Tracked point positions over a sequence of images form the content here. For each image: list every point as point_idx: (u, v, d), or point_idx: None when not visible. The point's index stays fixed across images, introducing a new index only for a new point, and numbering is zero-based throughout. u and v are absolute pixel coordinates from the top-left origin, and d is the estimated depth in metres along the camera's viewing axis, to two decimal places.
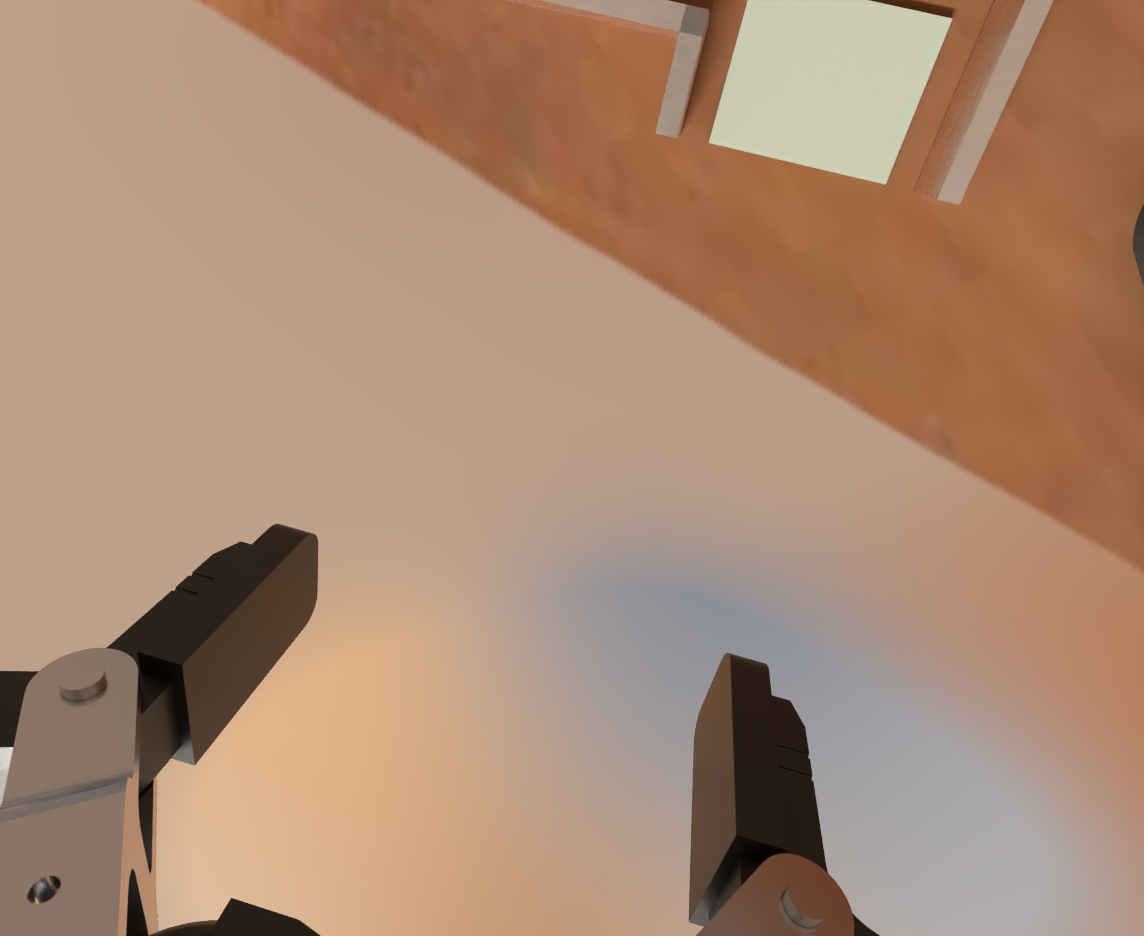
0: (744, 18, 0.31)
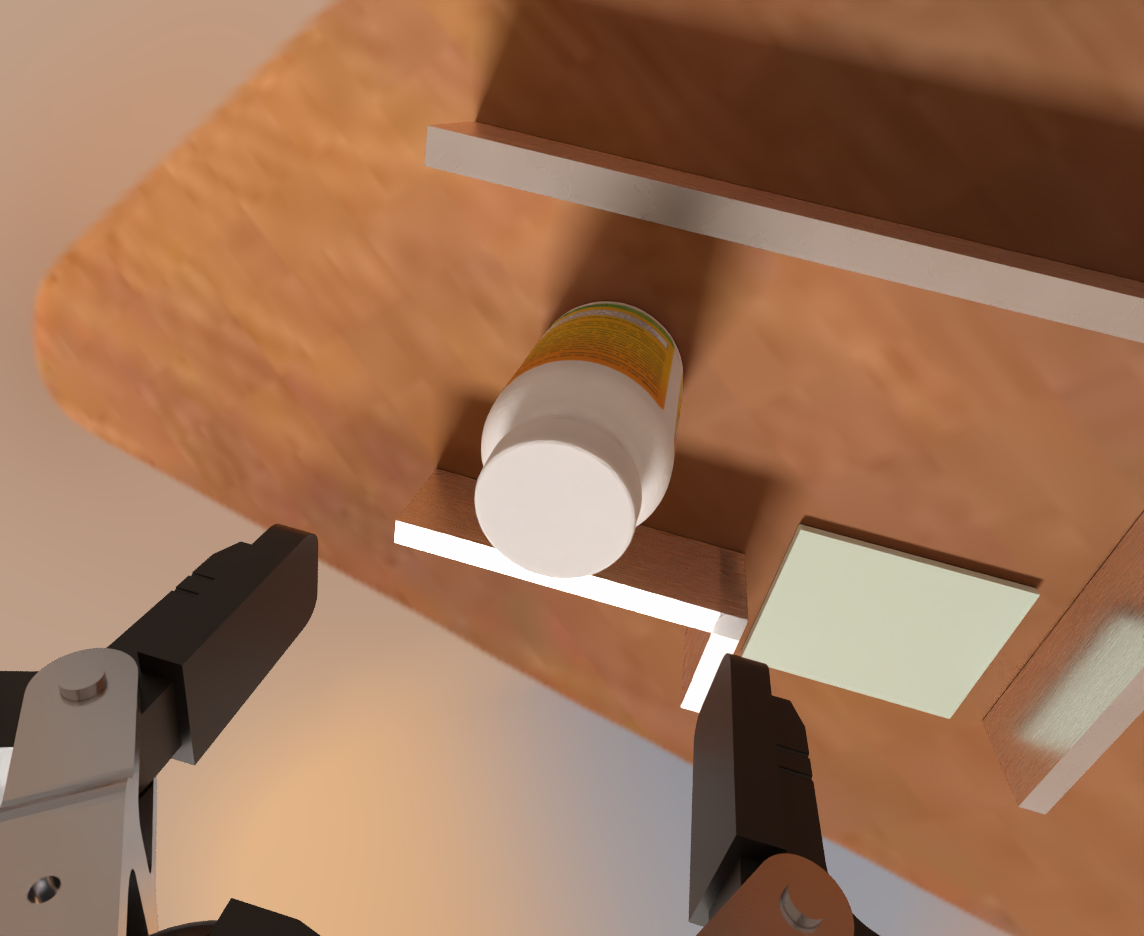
0: (787, 563, 0.26)
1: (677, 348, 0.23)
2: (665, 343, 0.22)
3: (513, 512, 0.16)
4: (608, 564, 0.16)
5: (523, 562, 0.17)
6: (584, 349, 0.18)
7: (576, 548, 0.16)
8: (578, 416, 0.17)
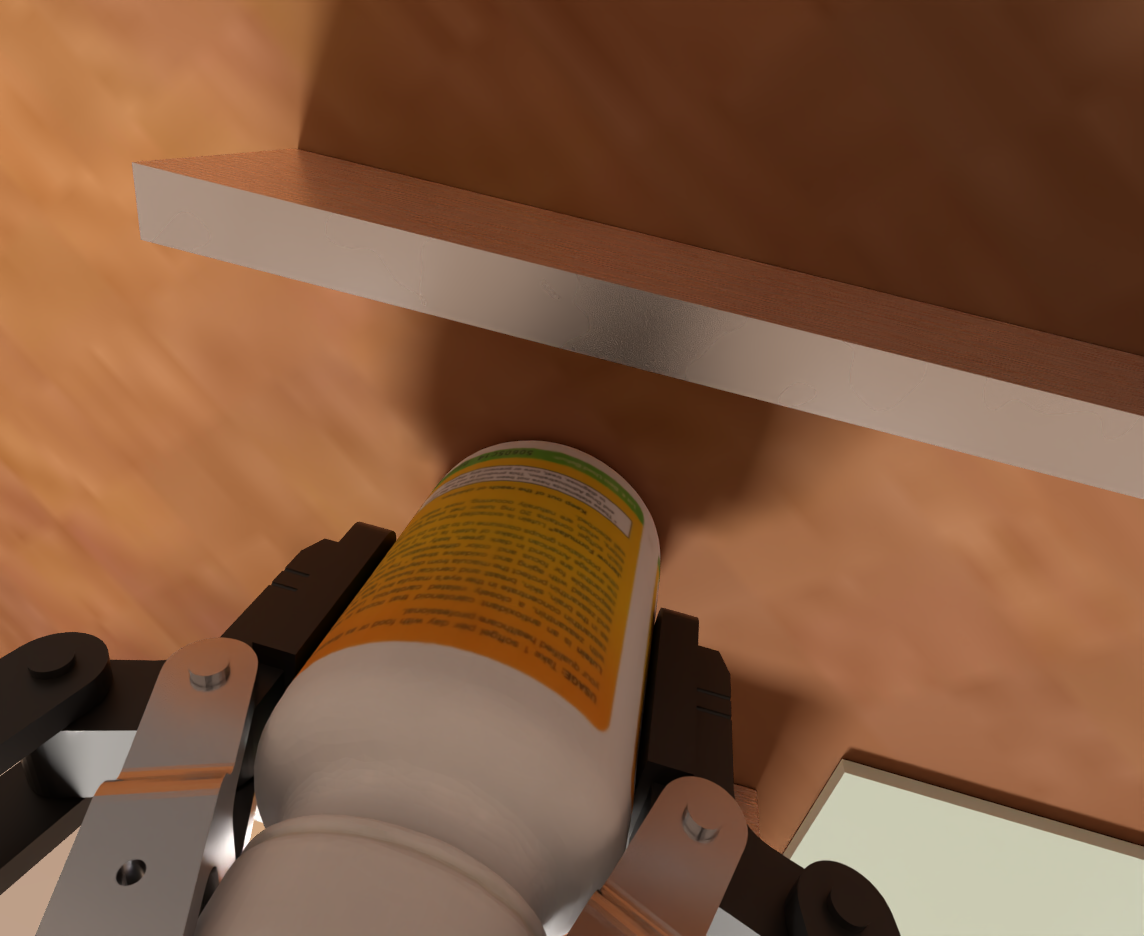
0: (822, 812, 0.17)
1: (650, 516, 0.14)
2: (627, 524, 0.13)
3: None
4: None
5: None
6: (455, 597, 0.09)
7: None
8: (414, 796, 0.08)
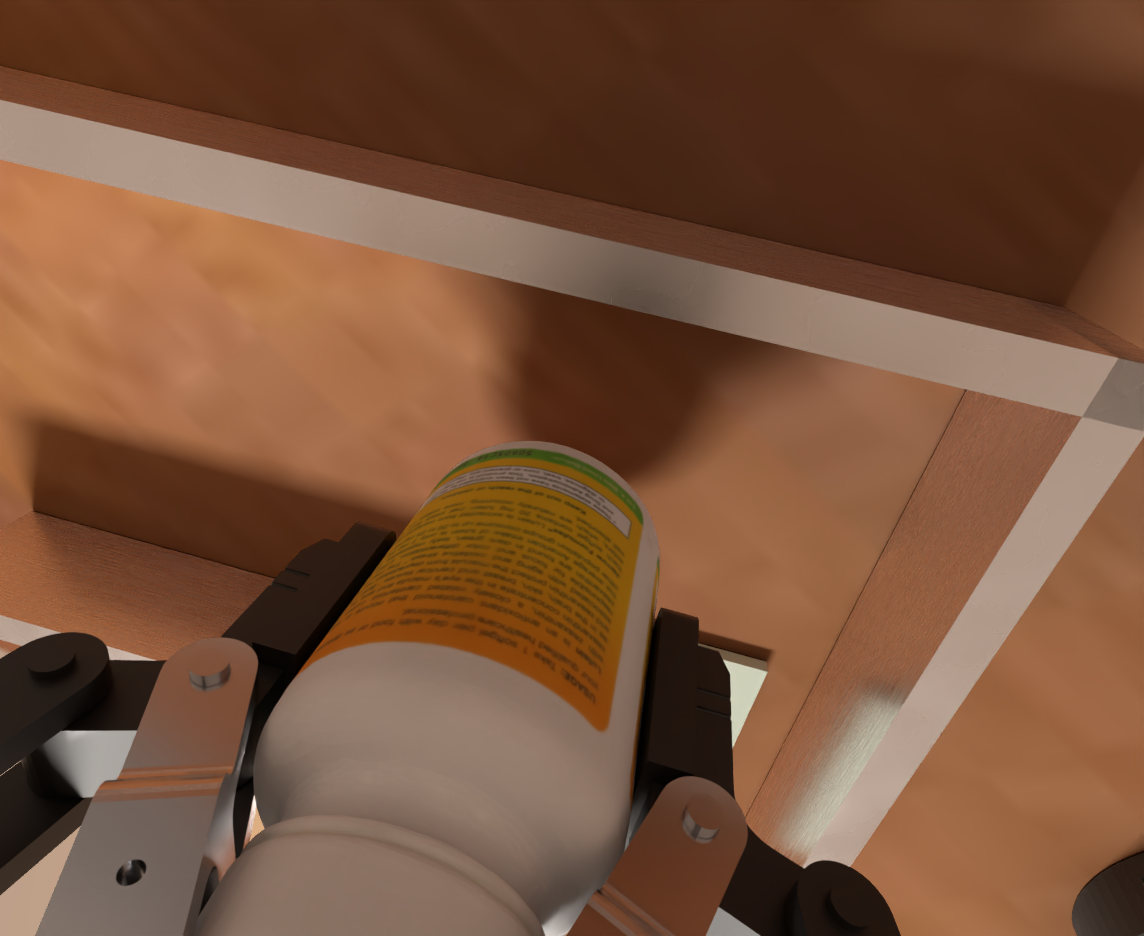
0: None
1: (649, 516, 0.14)
2: (626, 524, 0.13)
3: None
4: None
5: None
6: (454, 598, 0.09)
7: None
8: (413, 797, 0.08)
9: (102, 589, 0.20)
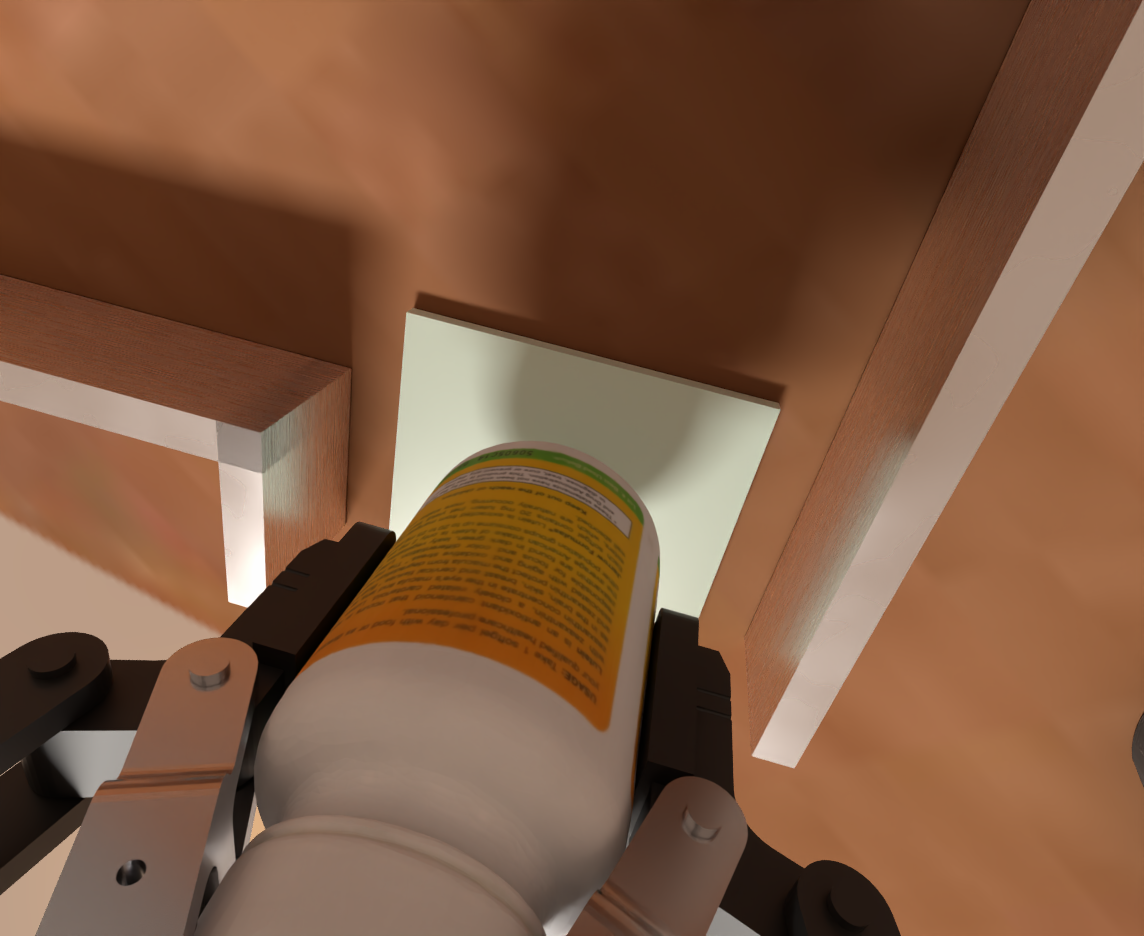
0: (404, 376, 0.17)
1: (650, 516, 0.14)
2: (627, 524, 0.13)
3: None
4: None
5: None
6: (455, 599, 0.09)
7: None
8: (414, 797, 0.08)
9: None
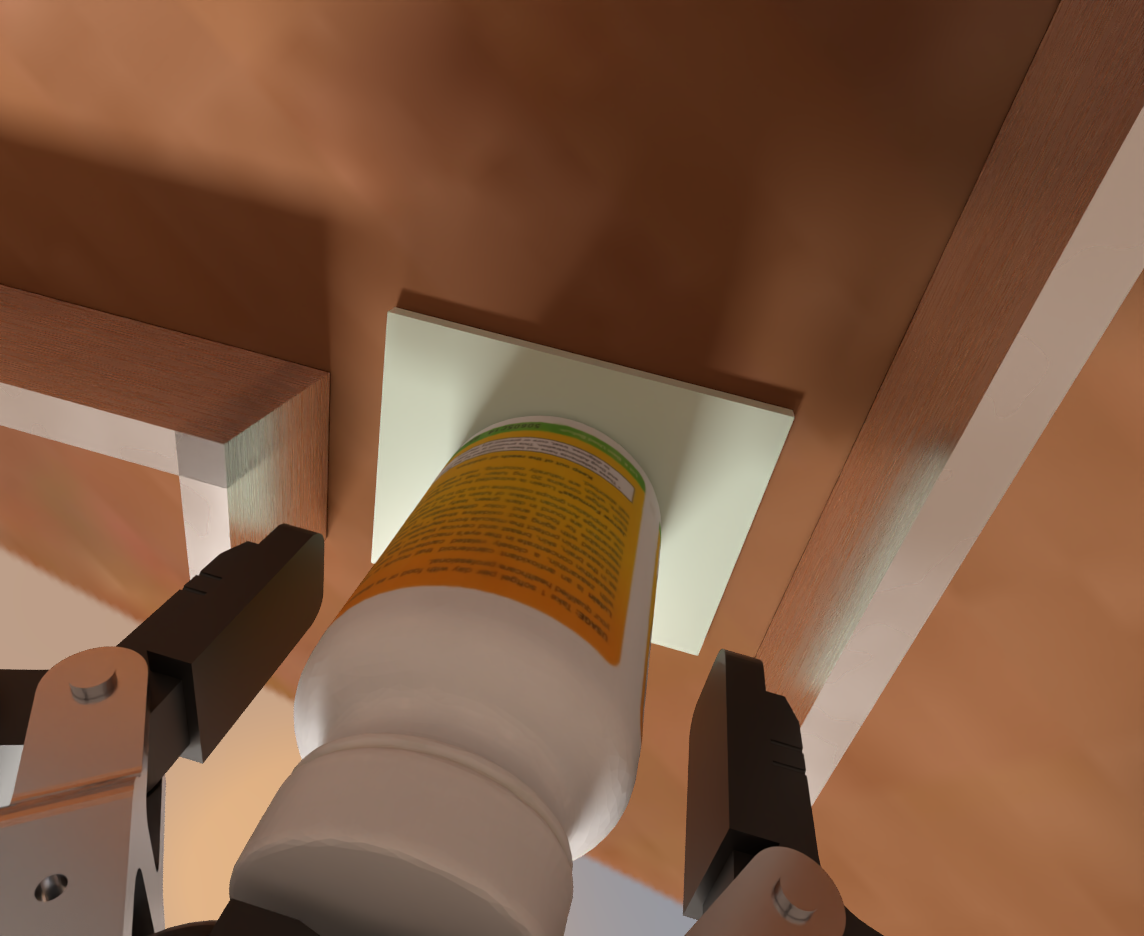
0: (386, 381, 0.15)
1: (651, 485, 0.15)
2: (630, 490, 0.14)
3: None
4: None
5: None
6: (476, 549, 0.10)
7: None
8: (446, 719, 0.08)
9: None
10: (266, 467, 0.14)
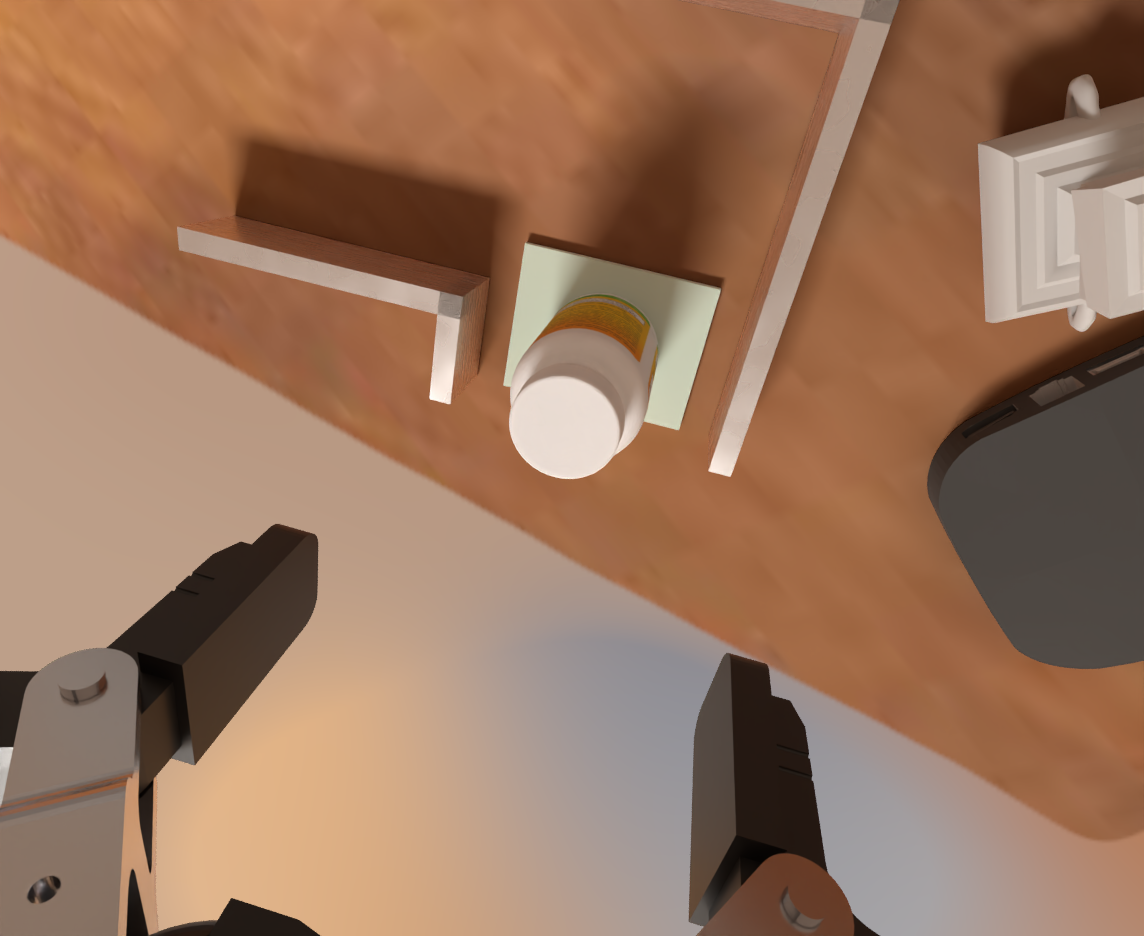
0: (521, 279, 0.31)
1: (652, 327, 0.30)
2: (642, 321, 0.29)
3: (536, 429, 0.23)
4: (602, 465, 0.24)
5: (543, 467, 0.24)
6: (582, 321, 0.26)
7: (580, 454, 0.24)
8: None
9: (294, 243, 0.30)
10: (469, 317, 0.30)
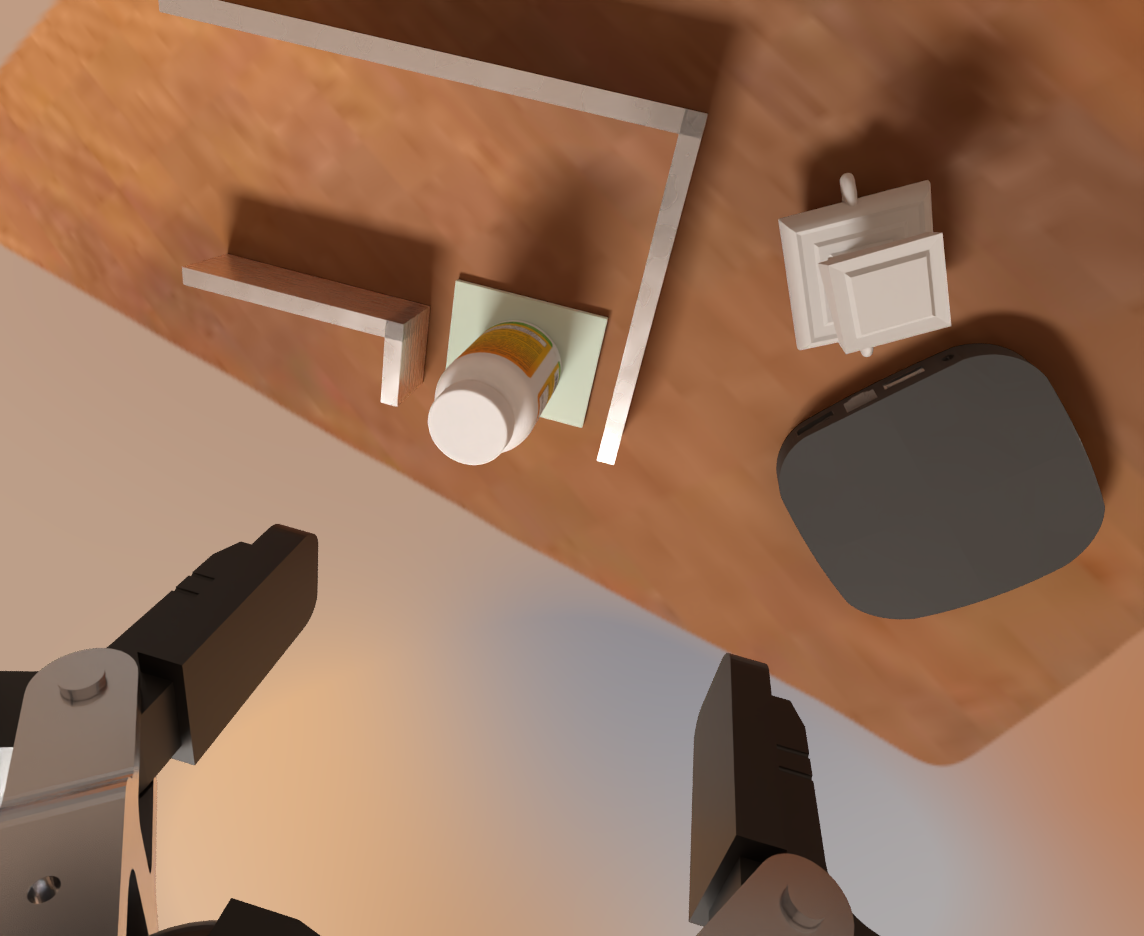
0: (454, 308, 0.39)
1: (556, 347, 0.39)
2: (544, 344, 0.37)
3: (447, 428, 0.32)
4: (496, 455, 0.32)
5: (454, 456, 0.33)
6: (489, 346, 0.34)
7: (480, 447, 0.32)
8: (481, 380, 0.32)
9: (274, 279, 0.39)
10: (411, 338, 0.38)
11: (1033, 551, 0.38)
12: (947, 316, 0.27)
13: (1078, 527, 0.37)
